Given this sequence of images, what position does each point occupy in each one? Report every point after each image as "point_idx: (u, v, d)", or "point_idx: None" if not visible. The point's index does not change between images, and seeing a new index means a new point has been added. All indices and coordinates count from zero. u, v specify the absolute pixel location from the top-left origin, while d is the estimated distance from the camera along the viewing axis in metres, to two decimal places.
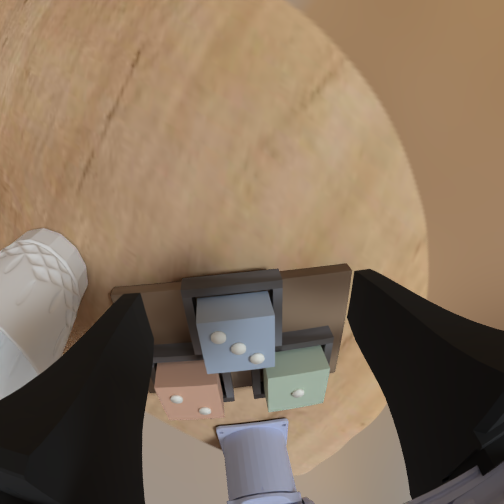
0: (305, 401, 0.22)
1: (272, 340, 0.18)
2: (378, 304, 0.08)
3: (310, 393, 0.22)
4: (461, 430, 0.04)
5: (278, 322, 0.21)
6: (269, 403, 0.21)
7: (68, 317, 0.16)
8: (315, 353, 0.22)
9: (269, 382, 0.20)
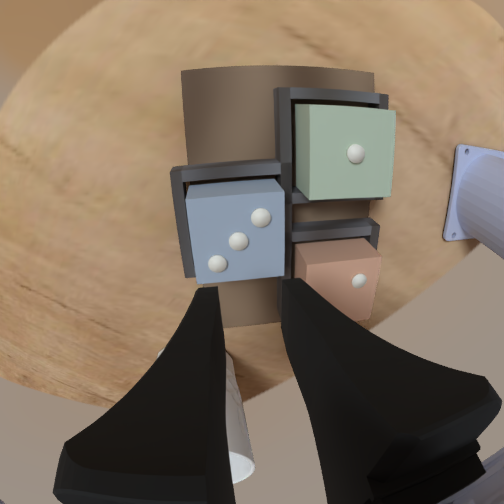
0: (382, 140, 0.13)
1: (229, 198, 0.14)
2: (297, 317, 0.08)
3: (365, 132, 0.13)
4: (357, 472, 0.04)
5: (236, 170, 0.15)
6: (369, 195, 0.14)
7: None
8: (299, 116, 0.14)
9: (318, 197, 0.14)
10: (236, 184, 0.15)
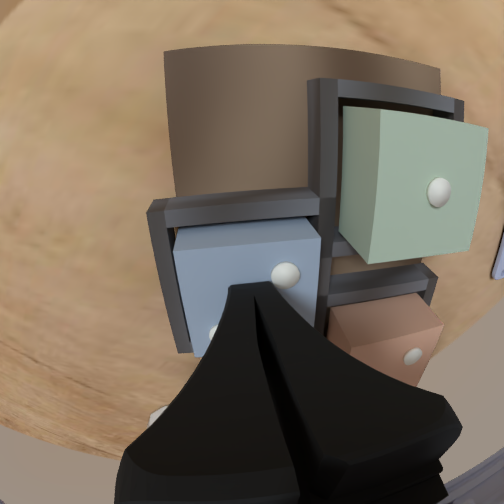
0: (471, 171, 0.08)
1: (239, 249, 0.09)
2: (260, 321, 0.08)
3: (452, 159, 0.08)
4: (303, 486, 0.04)
5: (251, 210, 0.10)
6: (445, 251, 0.09)
7: None
8: (353, 126, 0.09)
9: (381, 259, 0.09)
10: (248, 220, 0.11)
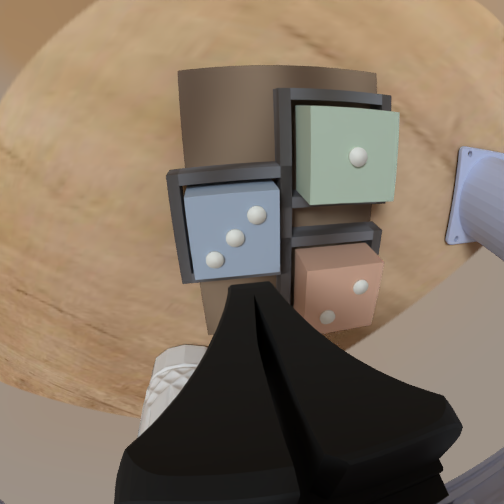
0: (385, 142, 0.13)
1: (226, 196, 0.14)
2: (260, 321, 0.08)
3: (367, 134, 0.13)
4: (303, 486, 0.04)
5: (234, 174, 0.15)
6: (371, 200, 0.14)
7: None
8: (299, 118, 0.14)
9: (319, 202, 0.14)
10: (233, 182, 0.16)
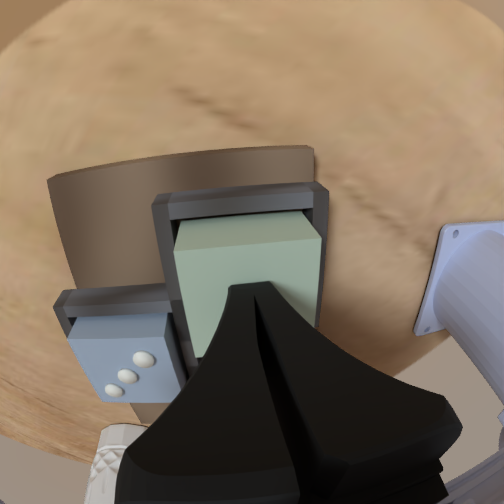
0: (296, 282, 0.10)
1: (107, 341, 0.11)
2: (260, 321, 0.08)
3: (267, 277, 0.10)
4: (303, 486, 0.04)
5: (119, 309, 0.12)
6: None
7: None
8: None
9: None
10: None
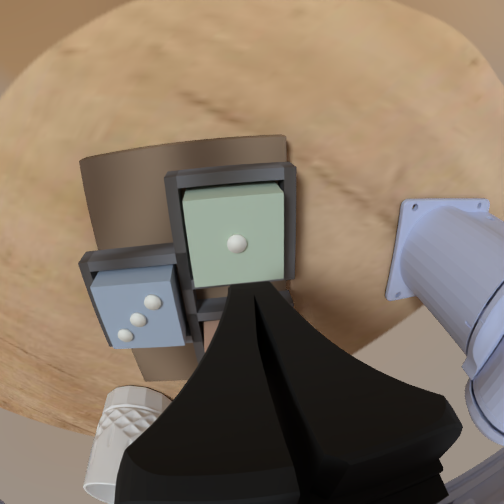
0: (268, 225, 0.14)
1: (124, 287, 0.15)
2: (260, 321, 0.08)
3: (246, 220, 0.14)
4: (303, 486, 0.04)
5: (134, 262, 0.16)
6: (258, 279, 0.16)
7: (132, 429, 0.19)
8: None
9: (204, 284, 0.15)
10: None
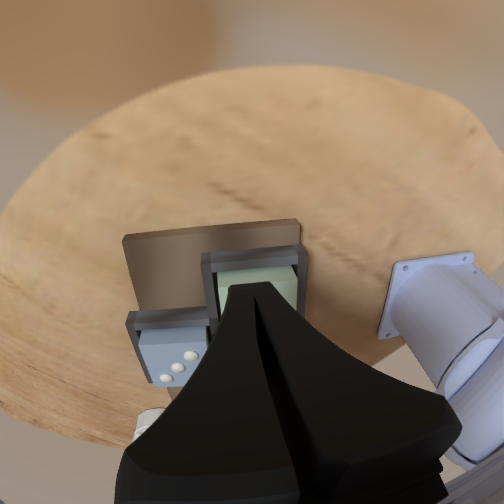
0: None
1: (167, 345, 0.19)
2: (260, 322, 0.08)
3: None
4: (303, 486, 0.04)
5: (174, 324, 0.19)
6: None
7: None
8: None
9: None
10: None
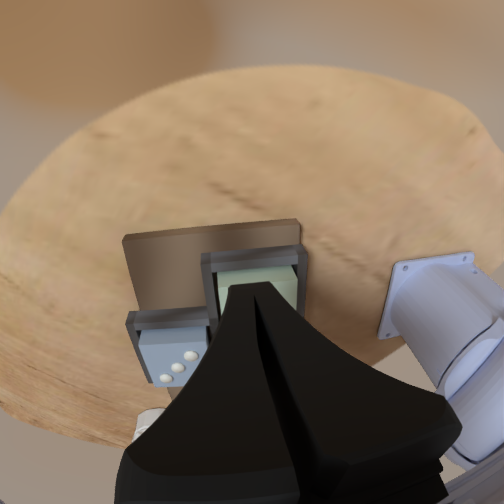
0: None
1: (167, 345, 0.19)
2: (260, 322, 0.08)
3: None
4: (303, 486, 0.04)
5: (174, 324, 0.19)
6: None
7: None
8: None
9: None
10: None
